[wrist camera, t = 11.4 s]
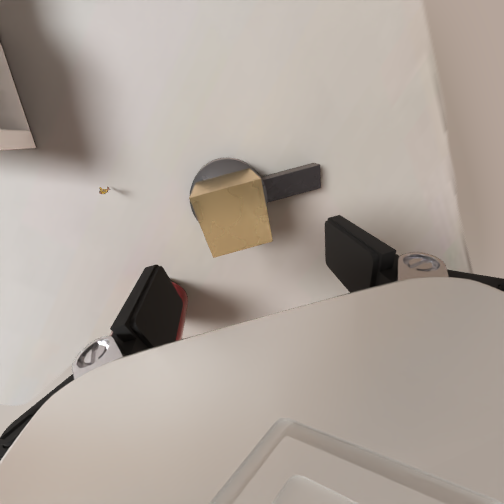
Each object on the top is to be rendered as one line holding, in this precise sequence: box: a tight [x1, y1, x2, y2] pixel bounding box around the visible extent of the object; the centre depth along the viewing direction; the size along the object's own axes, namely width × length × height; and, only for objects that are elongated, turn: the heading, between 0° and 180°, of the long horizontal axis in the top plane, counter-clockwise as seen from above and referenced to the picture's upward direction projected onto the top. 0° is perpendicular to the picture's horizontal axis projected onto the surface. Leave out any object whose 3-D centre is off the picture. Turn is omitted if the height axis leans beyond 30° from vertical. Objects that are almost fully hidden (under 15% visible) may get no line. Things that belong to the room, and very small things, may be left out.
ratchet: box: [190, 158, 321, 222], centre depth 19 cm, size 14×8×5 cm, turn 103°
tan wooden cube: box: [189, 168, 273, 258], centre depth 18 cm, size 5×5×6 cm
